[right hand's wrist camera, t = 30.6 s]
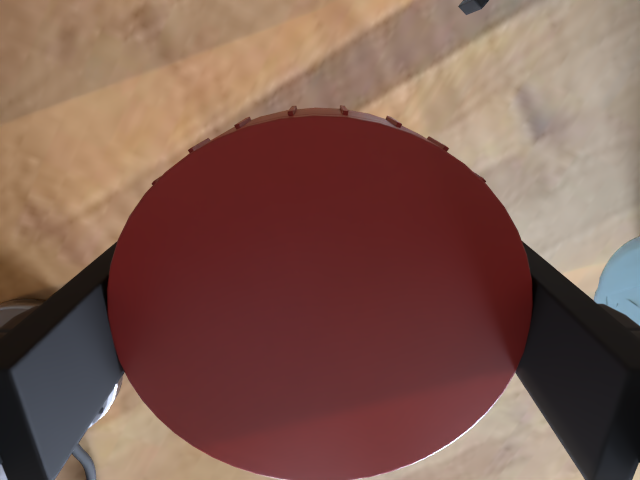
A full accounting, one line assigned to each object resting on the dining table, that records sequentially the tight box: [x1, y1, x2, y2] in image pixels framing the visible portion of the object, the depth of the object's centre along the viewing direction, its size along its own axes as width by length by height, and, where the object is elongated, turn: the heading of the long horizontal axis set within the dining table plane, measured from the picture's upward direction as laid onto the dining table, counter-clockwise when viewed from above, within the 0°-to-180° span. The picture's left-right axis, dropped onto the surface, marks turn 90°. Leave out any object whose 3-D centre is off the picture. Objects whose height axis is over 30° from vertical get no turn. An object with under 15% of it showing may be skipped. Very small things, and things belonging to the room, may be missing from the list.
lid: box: [107, 105, 533, 480], centre depth 11 cm, size 10×10×2 cm
